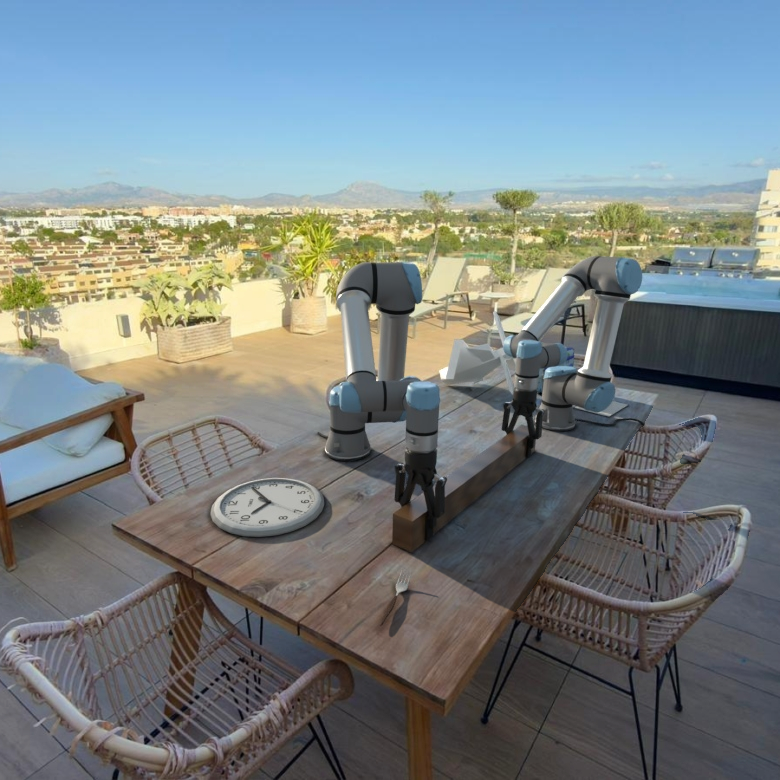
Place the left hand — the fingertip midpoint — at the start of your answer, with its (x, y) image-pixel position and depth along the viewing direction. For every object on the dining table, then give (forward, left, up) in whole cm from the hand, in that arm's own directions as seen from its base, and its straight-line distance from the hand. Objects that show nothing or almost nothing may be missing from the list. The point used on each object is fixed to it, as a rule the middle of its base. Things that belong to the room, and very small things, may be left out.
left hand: (417, 533), depth 129 cm
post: (-15, +27, -1) cm, 31 cm away
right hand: (-31, +53, 0) cm, 61 cm away
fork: (+20, -15, -1) cm, 25 cm away
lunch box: (-87, +112, -1) cm, 142 cm away
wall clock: (-28, -31, -1) cm, 42 cm away
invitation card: (-59, +117, -1) cm, 132 cm away
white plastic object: (-96, +79, -1) cm, 124 cm away
